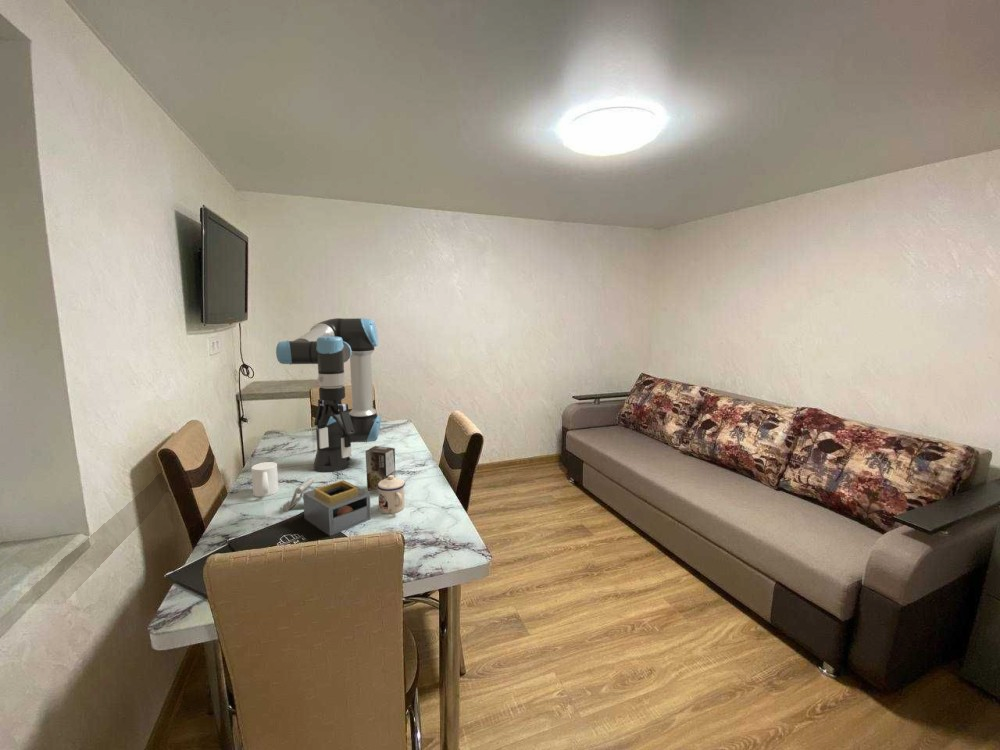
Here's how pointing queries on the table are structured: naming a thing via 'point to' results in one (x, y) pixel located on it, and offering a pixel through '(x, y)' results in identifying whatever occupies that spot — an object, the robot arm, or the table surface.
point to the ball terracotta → (344, 510)
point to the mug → (264, 479)
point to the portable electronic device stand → (299, 490)
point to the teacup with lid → (391, 495)
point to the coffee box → (379, 466)
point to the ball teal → (337, 509)
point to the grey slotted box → (336, 506)
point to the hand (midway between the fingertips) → (334, 452)
